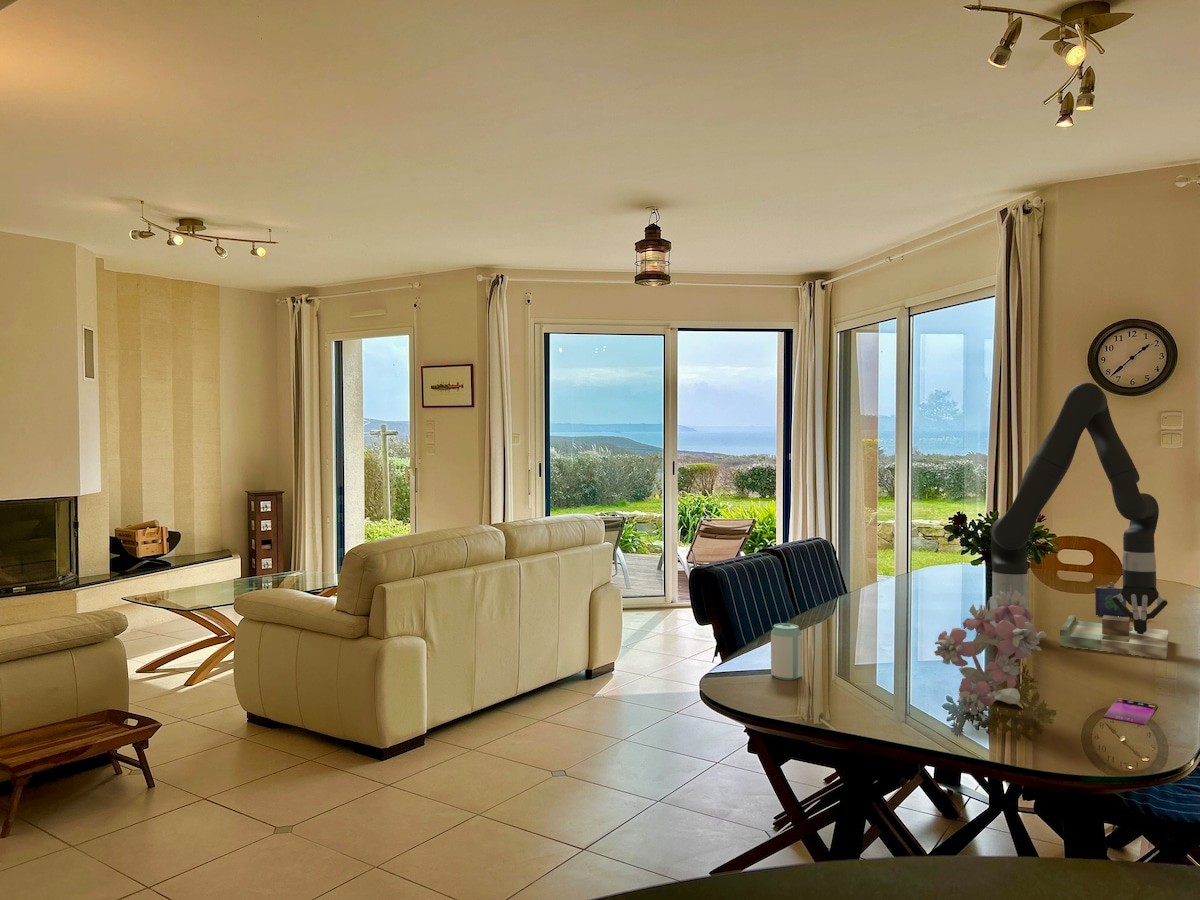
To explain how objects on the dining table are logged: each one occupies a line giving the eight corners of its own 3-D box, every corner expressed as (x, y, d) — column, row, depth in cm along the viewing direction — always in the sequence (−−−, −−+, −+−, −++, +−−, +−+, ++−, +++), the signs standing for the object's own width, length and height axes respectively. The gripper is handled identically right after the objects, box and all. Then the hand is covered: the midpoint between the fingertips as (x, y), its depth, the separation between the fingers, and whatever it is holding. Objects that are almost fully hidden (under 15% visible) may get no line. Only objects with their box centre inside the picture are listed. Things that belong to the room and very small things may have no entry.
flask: (1123, 615, 263) (1123, 581, 263) (1129, 617, 260) (1129, 582, 260) (1093, 615, 264) (1093, 581, 264) (1098, 617, 261) (1098, 582, 261)
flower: (906, 679, 188) (917, 589, 176) (1002, 667, 189) (1019, 576, 178) (949, 747, 170) (965, 651, 158) (1055, 733, 171) (1078, 636, 160)
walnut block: (1129, 632, 226) (1129, 617, 226) (1128, 636, 221) (1128, 621, 221) (1103, 629, 230) (1103, 615, 230) (1102, 633, 225) (1102, 618, 225)
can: (765, 674, 198) (765, 623, 198) (790, 671, 201) (790, 621, 201) (781, 682, 192) (781, 630, 192) (807, 678, 194) (807, 627, 194)
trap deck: (1168, 641, 229) (1168, 624, 228) (1166, 659, 210) (1166, 641, 210) (1070, 630, 242) (1070, 615, 242) (1060, 646, 223) (1060, 629, 223)
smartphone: (1157, 708, 173) (1158, 704, 173) (1145, 727, 161) (1145, 722, 161) (1117, 701, 177) (1117, 697, 177) (1102, 719, 166) (1102, 714, 166)
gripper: (1169, 568, 222) (1170, 633, 222) (1111, 565, 229) (1112, 628, 229) (1168, 571, 216) (1170, 639, 216) (1109, 568, 223) (1110, 633, 223)
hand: (1140, 633), depth 222 cm, fingers closed
